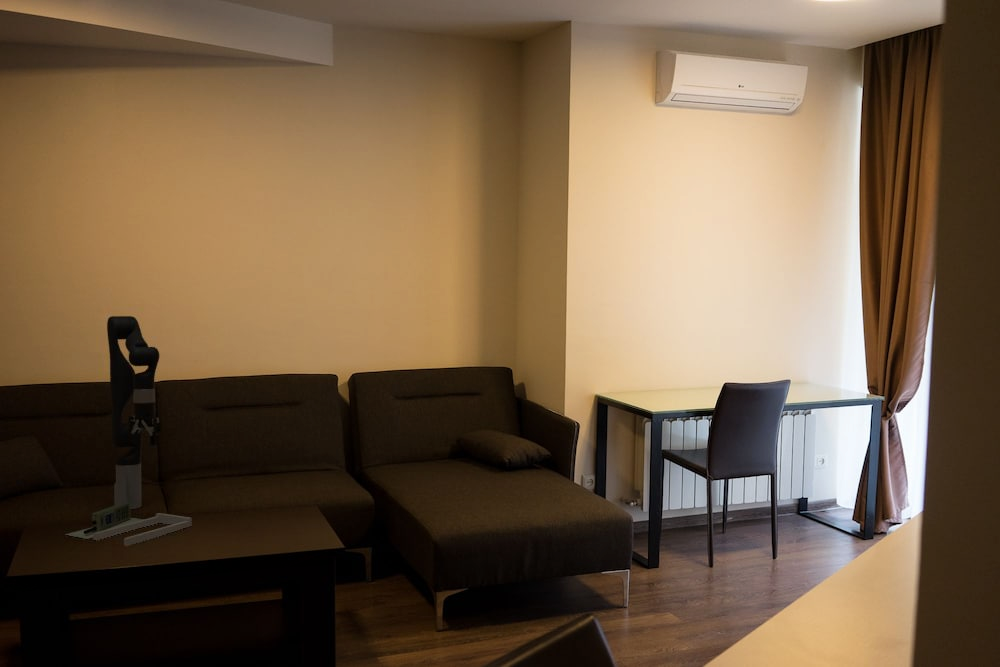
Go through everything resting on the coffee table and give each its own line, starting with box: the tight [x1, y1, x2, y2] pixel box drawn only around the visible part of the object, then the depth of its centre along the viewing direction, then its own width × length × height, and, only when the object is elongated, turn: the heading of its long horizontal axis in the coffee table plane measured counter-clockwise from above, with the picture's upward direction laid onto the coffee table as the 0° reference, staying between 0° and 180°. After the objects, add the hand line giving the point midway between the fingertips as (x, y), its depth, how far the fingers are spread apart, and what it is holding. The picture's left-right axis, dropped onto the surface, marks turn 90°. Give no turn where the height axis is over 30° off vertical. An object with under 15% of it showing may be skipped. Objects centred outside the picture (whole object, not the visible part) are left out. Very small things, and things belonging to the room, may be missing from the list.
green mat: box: [64, 517, 144, 540], centre depth 324 cm, size 11×28×1 cm, turn 154°
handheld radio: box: [84, 502, 132, 534], centre depth 324 cm, size 7×3×25 cm
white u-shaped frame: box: [92, 512, 193, 547], centre depth 318 cm, size 16×28×4 cm, turn 154°
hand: (144, 444), depth 336 cm, fingers open, 8 cm apart
